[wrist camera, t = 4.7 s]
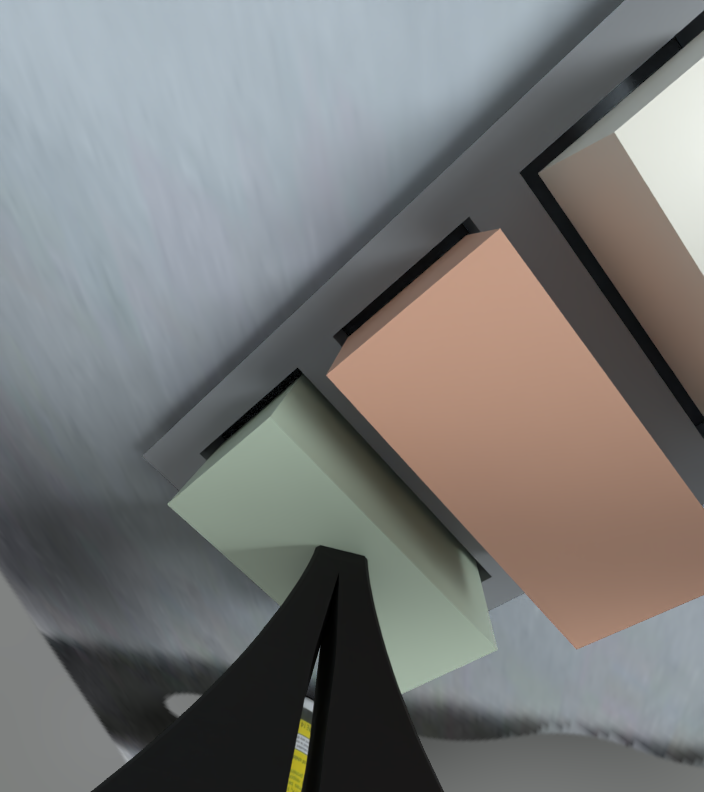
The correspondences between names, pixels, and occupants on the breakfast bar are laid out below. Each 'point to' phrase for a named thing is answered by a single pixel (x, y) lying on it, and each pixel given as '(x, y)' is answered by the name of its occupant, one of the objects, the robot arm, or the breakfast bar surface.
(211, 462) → the sage key
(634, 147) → the ivory key
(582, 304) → the keypad plinth
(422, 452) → the terracotta key
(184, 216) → the breakfast bar surface
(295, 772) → the supplement bottle
